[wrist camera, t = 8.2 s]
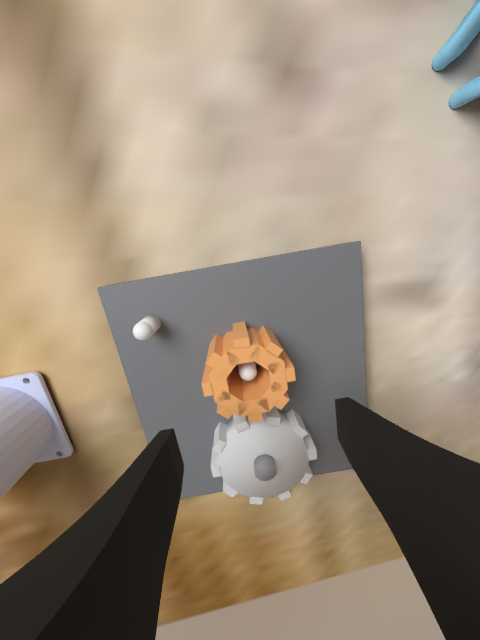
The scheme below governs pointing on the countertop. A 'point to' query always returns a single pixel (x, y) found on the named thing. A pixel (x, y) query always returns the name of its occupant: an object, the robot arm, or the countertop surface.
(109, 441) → the countertop surface
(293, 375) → the orange gear
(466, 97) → the chair
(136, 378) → the gear board
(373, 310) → the countertop surface
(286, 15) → the countertop surface
